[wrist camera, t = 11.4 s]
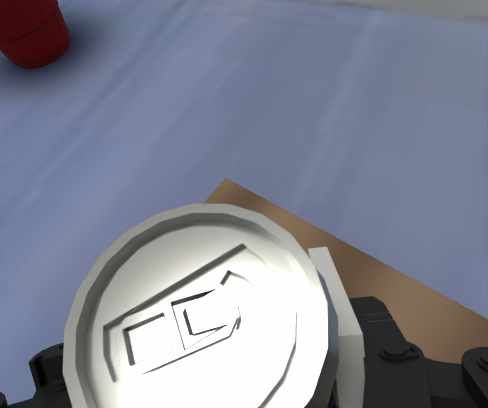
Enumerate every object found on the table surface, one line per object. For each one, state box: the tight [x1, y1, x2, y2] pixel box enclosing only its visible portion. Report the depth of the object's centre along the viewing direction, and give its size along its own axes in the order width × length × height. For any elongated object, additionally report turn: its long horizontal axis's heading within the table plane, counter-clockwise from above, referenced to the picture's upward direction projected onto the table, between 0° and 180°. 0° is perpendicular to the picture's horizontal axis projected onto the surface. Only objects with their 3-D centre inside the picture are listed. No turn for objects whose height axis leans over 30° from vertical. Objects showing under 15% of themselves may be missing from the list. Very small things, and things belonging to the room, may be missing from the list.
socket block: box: [203, 178, 488, 364], centre depth 18 cm, size 16×16×3 cm
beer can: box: [63, 204, 339, 408], centre depth 12 cm, size 5×5×12 cm
